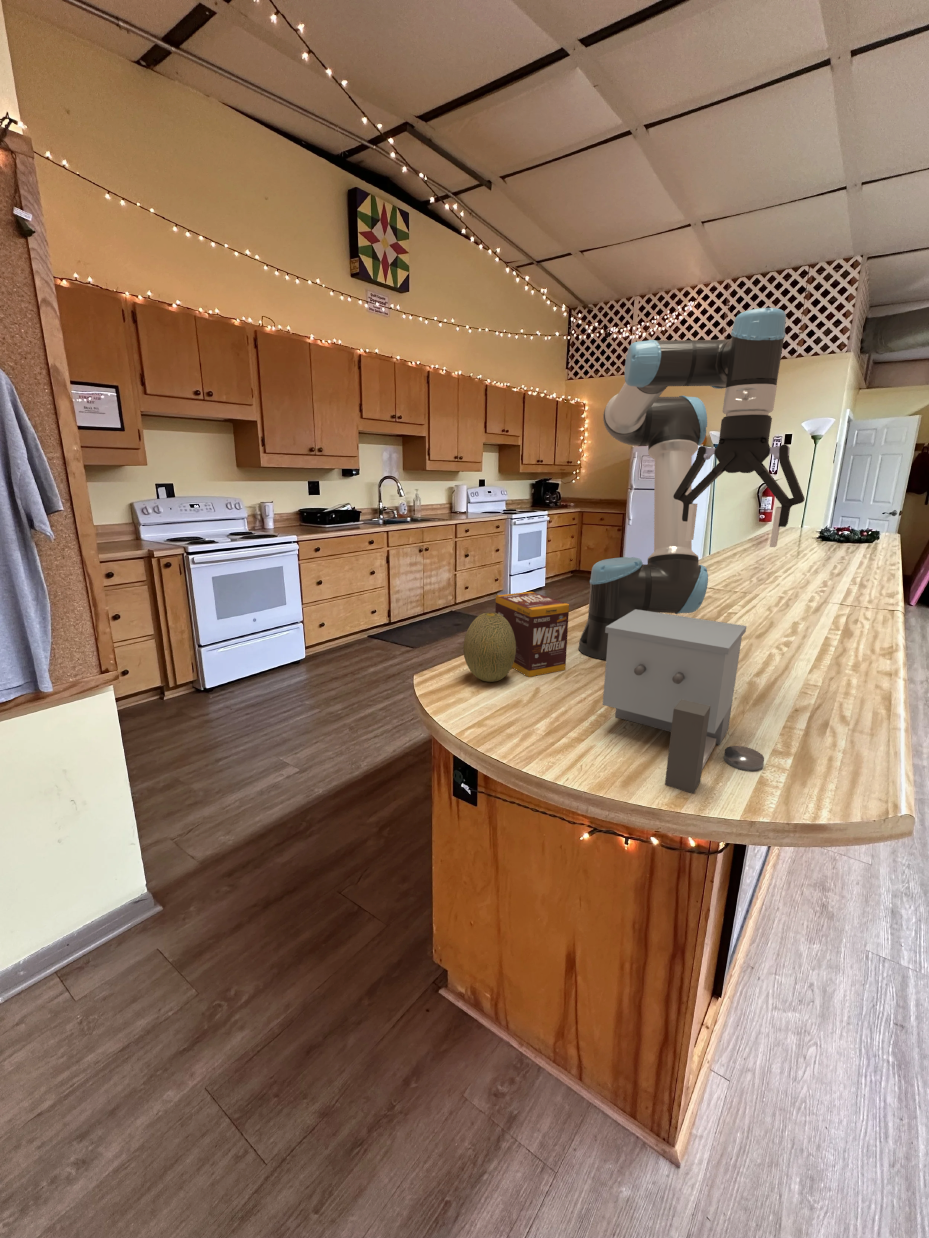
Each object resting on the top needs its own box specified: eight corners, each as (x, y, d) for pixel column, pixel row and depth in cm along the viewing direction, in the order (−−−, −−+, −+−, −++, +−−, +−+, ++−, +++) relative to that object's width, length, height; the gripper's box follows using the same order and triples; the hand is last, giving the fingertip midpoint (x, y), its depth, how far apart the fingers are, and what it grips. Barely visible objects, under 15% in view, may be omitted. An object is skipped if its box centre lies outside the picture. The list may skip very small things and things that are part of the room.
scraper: (664, 784, 79) (673, 708, 76) (693, 739, 92) (701, 673, 89) (693, 793, 77) (704, 715, 74) (718, 745, 90) (728, 678, 87)
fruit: (452, 679, 118) (452, 612, 114) (486, 666, 126) (487, 603, 122) (492, 693, 111) (494, 622, 107) (526, 679, 119) (528, 612, 115)
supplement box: (528, 678, 119) (531, 609, 115) (493, 657, 132) (494, 594, 128) (566, 670, 124) (570, 604, 120) (528, 651, 137) (531, 590, 133)
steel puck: (718, 763, 85) (719, 754, 85) (731, 751, 89) (732, 742, 89) (755, 777, 82) (757, 767, 81) (767, 763, 85) (769, 754, 85)
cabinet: (594, 733, 94) (602, 628, 89) (626, 703, 107) (635, 609, 102) (710, 767, 83) (727, 650, 78) (731, 729, 96) (746, 625, 91)
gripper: (663, 417, 94) (651, 539, 100) (835, 408, 80) (810, 551, 86) (675, 420, 100) (663, 536, 106) (837, 413, 86) (814, 546, 92)
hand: (729, 543), depth 96 cm, fingers open, 13 cm apart
